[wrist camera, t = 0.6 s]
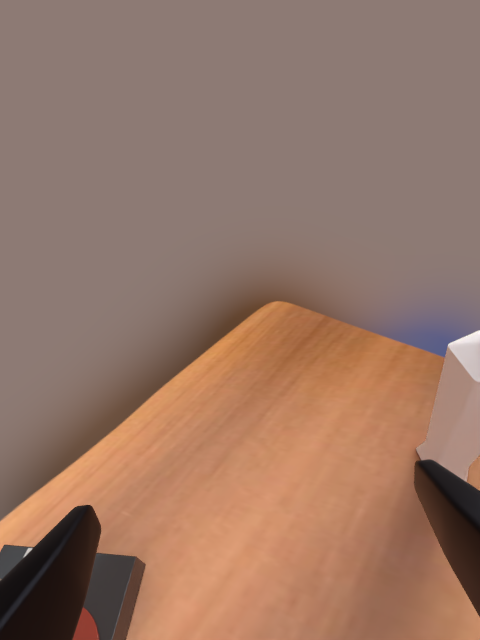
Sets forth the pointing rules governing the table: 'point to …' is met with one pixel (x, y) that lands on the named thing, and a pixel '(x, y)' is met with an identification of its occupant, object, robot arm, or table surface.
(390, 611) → the table surface
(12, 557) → the hob
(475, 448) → the perfume bottle
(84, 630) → the burner zone
